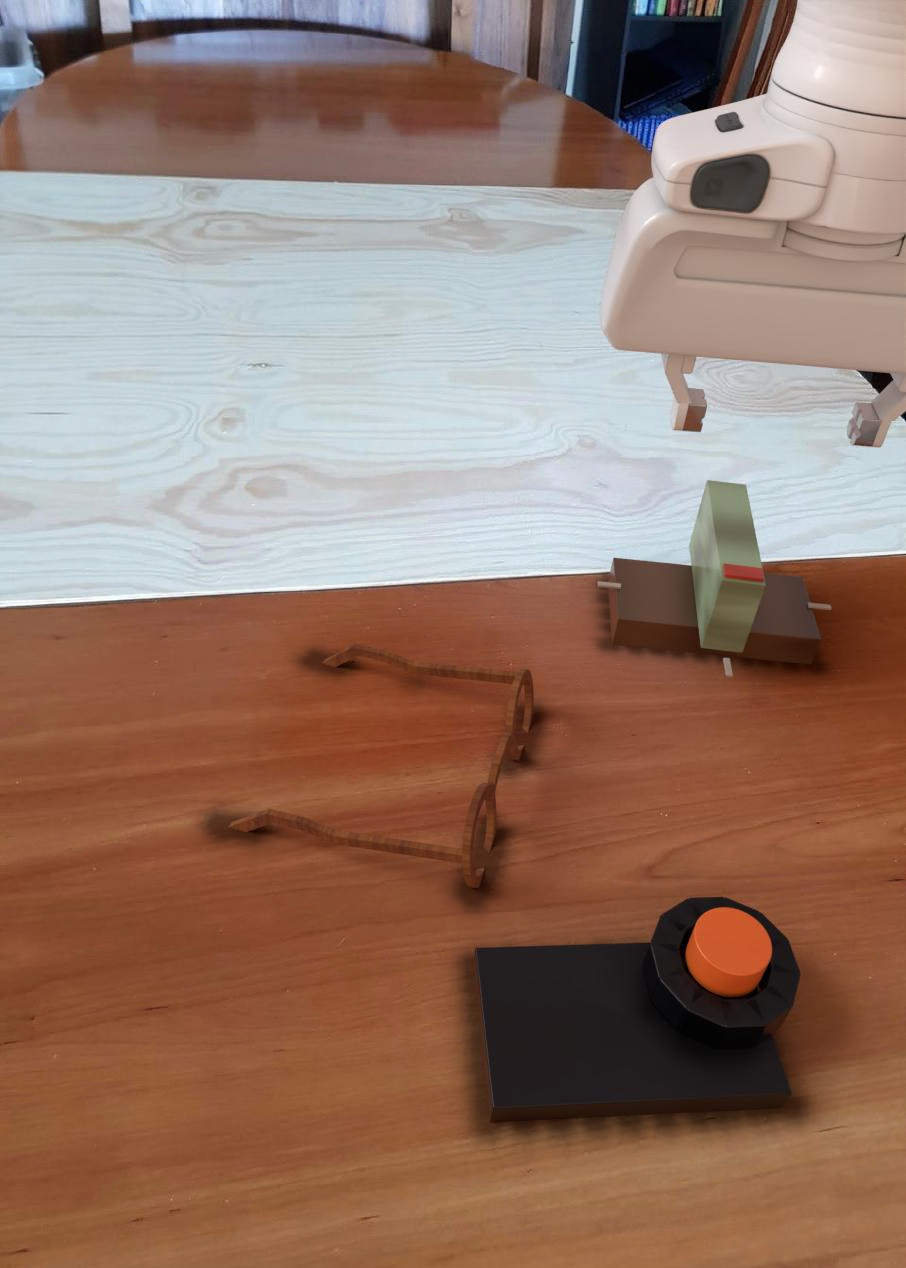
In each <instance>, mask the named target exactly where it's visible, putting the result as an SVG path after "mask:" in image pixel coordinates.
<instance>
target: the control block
mask: <svg viewBox="0 0 906 1268" xmlns="http://www.w3.org/2000/svg"><path fill="white" fill-rule="evenodd" d="M721 907H728V908H734V909H738V910H740V911H743V912H745V913H747V914H749V915H751V916H752V917H753V918H755V919H756V920H757V921H758V922H759V923H760V924H761V925H762V926H763V927H764V929H765V930H766V931H767V933H768V935H769V937H770V940H771V944H772V956H771V959H770V962H769V964H768V966H767V968H766V970H765V972H764V974H763V976H762V978H761V980H760V982H759V984H758V986H757V987H756V988H755V989H754V990H753V991H752V992H750V993H748V994H746V995H744V996H740V997H724V996H720V995H717V994H714V993H712V992H710V991H708V990H707V989H705V988H704V987H702V986H701V985H700V984H699V983H698V982H697V981H696V980H695V979H694V977H693V976H692V975H691V973H690V971H689V969H688V966H687V963H686V957H685V953H686V947H687V945H688V942H689V940H690V937H691V935H692V932H693V930H694V927H695V925H696V922H697V920H698V919H699V918H700V917H701V916H702V915H703V914H704V913H705V912H707V911H709V910H711V909H715V908H721ZM650 939H651V940H650V941H649V942H621V943H618V942H617V943H589V944H588V943H587V944H557V945H555V944H554V945H553V944H552V945H526V946H524V945H523V946H520V945H519V946H491V947H475V948H474V953H473V960H472V970H473V971H472V972H473V980H474V990H475V998H476V999H475V1000H476V1008H477V1017H478V1027H479V1036H480V1045H481V1046H480V1047H481V1054H482V1064H483V1073H484V1074H483V1075H484V1084H485V1092H486V1102H487V1111H488V1121H489V1123H506V1122H508V1123H509V1122H528V1121H529V1122H530V1121H548V1120H549V1121H550V1120H551V1121H552V1120H570V1119H589V1118H590V1119H591V1118H592V1119H593V1118H608V1117H611V1118H612V1117H628V1116H631V1117H632V1116H651V1115H653V1116H654V1115H670V1114H671V1115H672V1114H692V1113H693V1114H694V1113H710V1112H729V1111H731V1112H732V1111H752V1110H753V1111H754V1110H773V1109H783V1108H784V1107H785V1105H786V1104H787V1102H788V1100H789V1098H790V1097H791V1096H792V1091H791V1088H790V1085H789V1082H788V1078H787V1076H786V1075H787V1074H786V1072H785V1069H784V1065H783V1063H782V1060H781V1056H780V1054H779V1050H778V1048H777V1044H776V1041H775V1039H774V1035H773V1034H774V1033H775V1032H777V1031H778V1030H779V1029H781V1028H782V1026H783V1025H784V1022H785V1021H786V1019H787V1017H788V1015H789V1014H790V1012H791V1010H792V1008H793V1007H794V1004H795V1000H796V995H797V992H798V987H799V983H800V980H801V975H802V974H801V971H800V967H799V964H798V962H797V959H796V956H795V953H794V951H793V948H792V945H791V942H790V940H789V939H788V937H787V936H786V935H785V934H784V933H783V932H782V931H781V930H780V929H778V927H777V926H776V925H775V924H774V923H773V922H772V921H771V920H770V919H769V918H768V917H766V915H764V913H762V911H760V910H757V909H755V908H752V907H750V906H748V905H745V904H743V903H740V902H739V901H736V900H733V899H731V898H728V897H726V896H725V897H724V896H701V897H700V896H699V897H694V896H693V897H689V898H685V899H684V900H682V901H681V902H679V903H677V904H676V905H674V906H672V907H671V908H670V909H668V910H666V911H664V912H663V913H662V914H660V917H659V919H658V921H657V924H656V926H655V929H654V932H653V934H652V937H651V938H650ZM758 987H759V989H758Z"/></svg>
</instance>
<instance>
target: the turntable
mask: <svg viewBox="0 0 906 1268" xmlns="http://www.w3.org/2000/svg"><path fill="white" fill-rule="evenodd" d="M611 562H612V563H611V568H610V572H609V575H608V580H607V581H601V580H598V581H597V587H598V588H607V592H608V593H607V594H608V605H609V606H608V607H609V619H610V620H609V621H610V622H609V623H610V635H611V645H613V646H622V647H632V648H642V649H643V648H644V649H653V650H662V651H671V652H672V651H673V652H682V653H692V654H702V655H713V656H721V657H723V658H722V663H723V668H724V673H725V677H727V678H732V677H734V674H733V668H732V663H731V658H741V659H752V660H761V661H770V662H780V663H781V662H782V663H789V664H790V663H792V664H801V665H809V666H810V665H812V663H813V661H814V658H815V657H816V653H817V652H818V648H819V646H820V644H821V642H822V636H821V633H820V629H819V626H818V623H817V619H816V615H815V613H814V609H816V610H826V611H831V610H832V606H831V604H828V603H818V602H811V599H810V596H809V593H808V589H807V586H806V583H805V582H806V581H805V579H804V577H803V576H801V575H800V576H799V575H790V574H780V573H772V572H771V573H769V572H763V573H764V578H765V584H766V586H765V589H764V592H763V595H762V598H761V601H760V603H759V606H758V609H757V612H756V615H755V618H754V621H753V624H752V627H751V629H750V632H749V635H748V638H747V641H746V644H745V647H744V650H743V652H742V653H739V652H731V651H723V650H715V649H707V648H701V645H700V636H699V627H698V618H697V610H696V601H695V592H694V584H693V575H692V566H691V564H681V563H670V562H661V561H651V560H644V559H643V560H641V559H631V558H622V557H613V558H612V561H611ZM730 657H731V658H730Z"/></svg>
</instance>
